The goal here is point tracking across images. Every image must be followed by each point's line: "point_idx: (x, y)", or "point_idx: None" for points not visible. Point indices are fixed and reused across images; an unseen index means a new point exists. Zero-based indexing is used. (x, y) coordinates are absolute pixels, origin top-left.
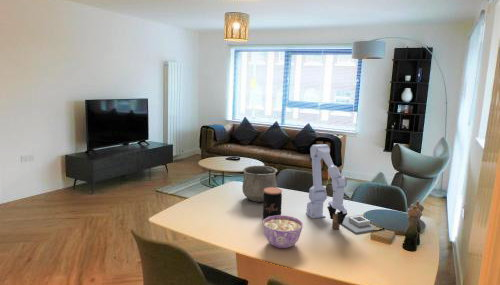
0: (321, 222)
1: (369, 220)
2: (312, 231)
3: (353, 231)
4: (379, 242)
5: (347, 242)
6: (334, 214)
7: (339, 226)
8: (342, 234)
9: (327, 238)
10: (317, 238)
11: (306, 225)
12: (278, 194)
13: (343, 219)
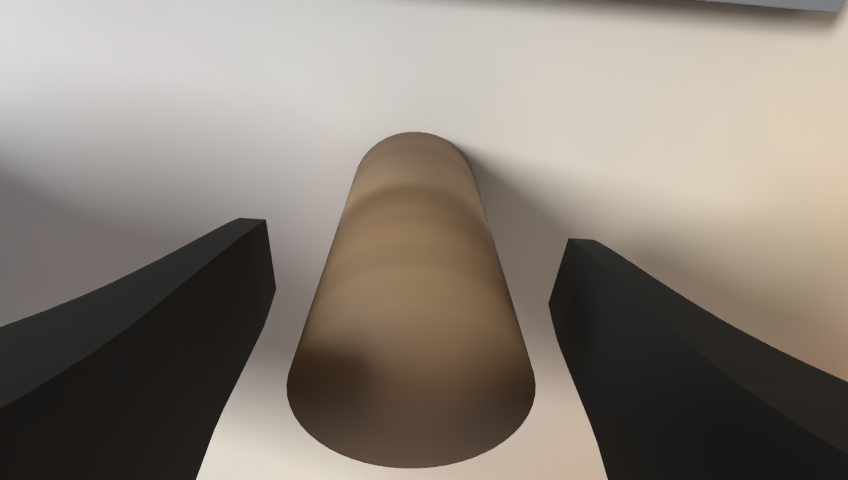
0: (143, 254)
1: None
2: None
3: (749, 4)
4: None
5: (816, 318)
6: (358, 430)
7: (463, 167)
8: (636, 236)
9: None
10: (535, 475)
11: (224, 433)
12: None
13: (684, 313)
